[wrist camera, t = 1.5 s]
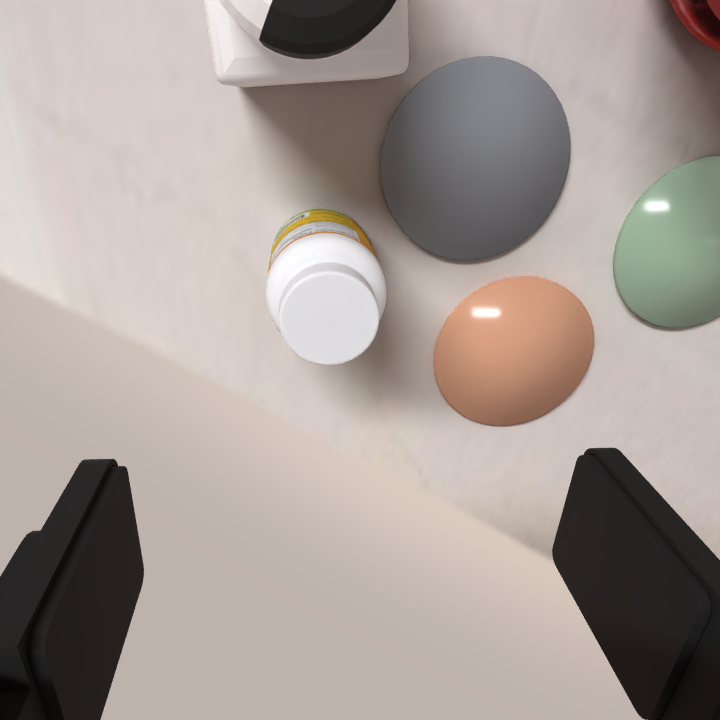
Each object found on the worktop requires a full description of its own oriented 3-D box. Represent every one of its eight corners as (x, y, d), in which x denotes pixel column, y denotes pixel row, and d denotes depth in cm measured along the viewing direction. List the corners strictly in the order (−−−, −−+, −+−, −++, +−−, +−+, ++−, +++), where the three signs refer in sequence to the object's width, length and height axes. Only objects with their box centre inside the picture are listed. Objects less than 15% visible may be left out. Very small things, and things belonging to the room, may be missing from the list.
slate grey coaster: (581, 62, 27) (589, 61, 27) (544, 257, 32) (549, 261, 31) (385, 51, 26) (388, 50, 25) (374, 255, 31) (376, 259, 30)
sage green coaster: (800, 156, 31) (812, 157, 30) (741, 321, 35) (751, 326, 34) (634, 152, 29) (642, 154, 29) (595, 324, 34) (601, 329, 33)
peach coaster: (604, 275, 32) (611, 279, 32) (569, 417, 37) (575, 424, 36) (440, 273, 31) (443, 277, 31) (425, 420, 36) (427, 426, 35)
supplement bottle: (360, 307, 31) (383, 388, 23) (266, 295, 31) (254, 374, 22) (377, 214, 29) (411, 264, 21) (277, 197, 28) (268, 243, 20)
